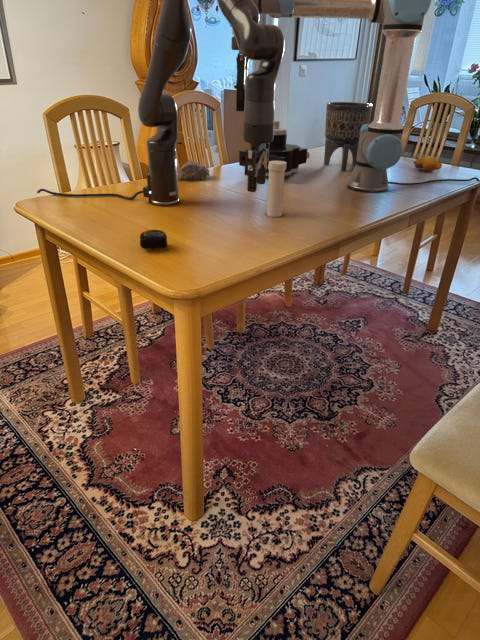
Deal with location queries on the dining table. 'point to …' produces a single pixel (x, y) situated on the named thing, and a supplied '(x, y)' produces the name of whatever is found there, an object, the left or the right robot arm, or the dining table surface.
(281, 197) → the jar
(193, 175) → the rock
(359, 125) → the planter
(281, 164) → the white cylinder with groove
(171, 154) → the left robot arm
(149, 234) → the tape measure
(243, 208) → the dining table surface
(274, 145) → the mechanical component
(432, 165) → the toy
